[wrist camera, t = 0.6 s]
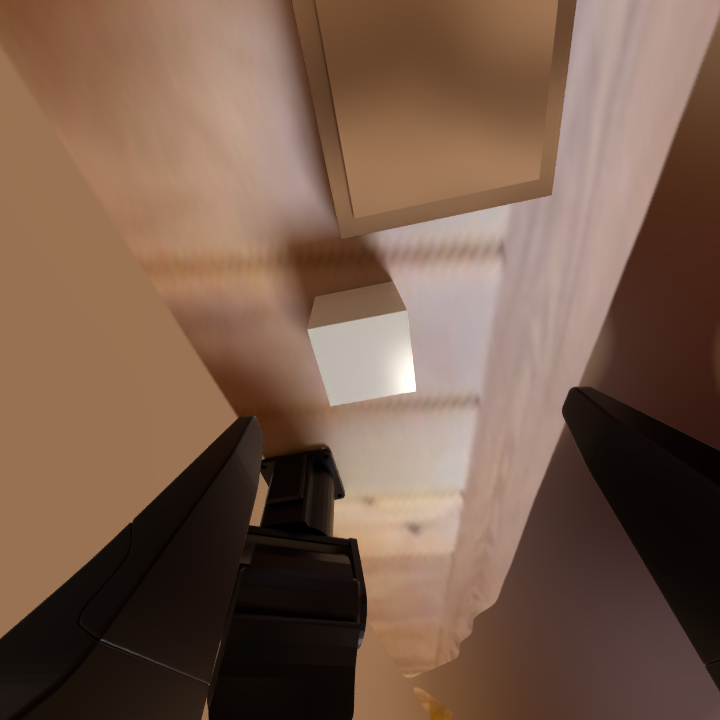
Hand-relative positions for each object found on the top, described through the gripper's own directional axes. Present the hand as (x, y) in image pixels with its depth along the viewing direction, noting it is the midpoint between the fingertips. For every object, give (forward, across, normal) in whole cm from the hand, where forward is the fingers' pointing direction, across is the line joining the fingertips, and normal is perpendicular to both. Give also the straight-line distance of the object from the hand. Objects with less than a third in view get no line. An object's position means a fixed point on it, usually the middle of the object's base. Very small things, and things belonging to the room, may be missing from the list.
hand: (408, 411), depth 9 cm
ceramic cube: (+12, +2, +4) cm, 12 cm away
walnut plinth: (+13, -3, -8) cm, 15 cm away
